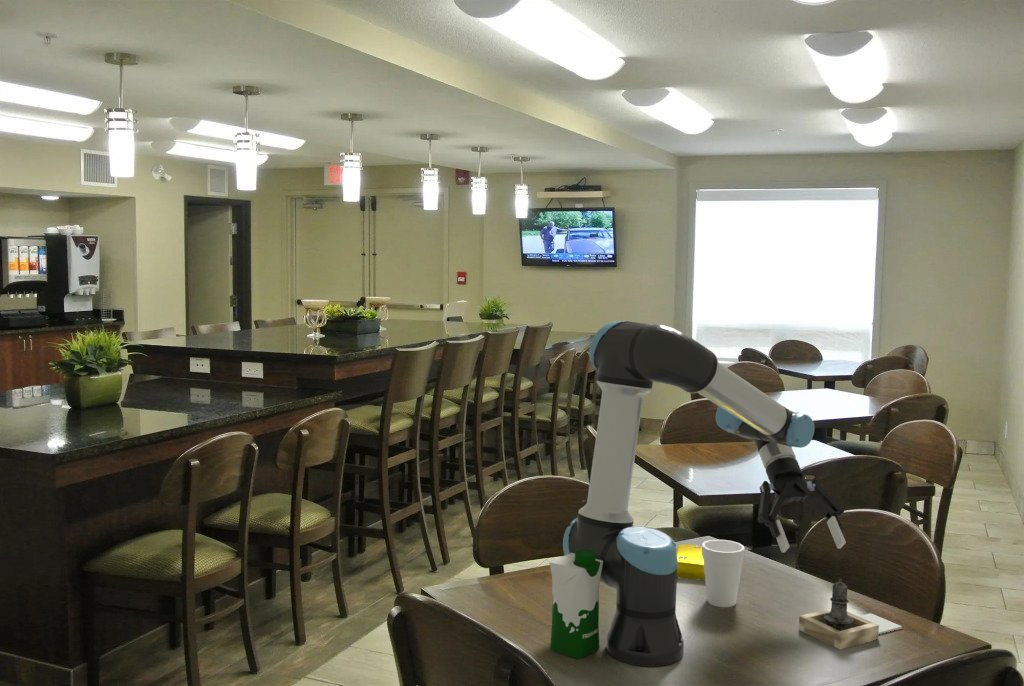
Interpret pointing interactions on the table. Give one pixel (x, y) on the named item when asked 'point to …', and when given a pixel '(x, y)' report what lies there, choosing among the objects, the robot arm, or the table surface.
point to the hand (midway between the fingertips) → (814, 547)
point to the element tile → (690, 562)
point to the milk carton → (575, 603)
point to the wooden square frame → (838, 639)
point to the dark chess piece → (839, 608)
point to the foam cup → (722, 571)
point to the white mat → (881, 623)
